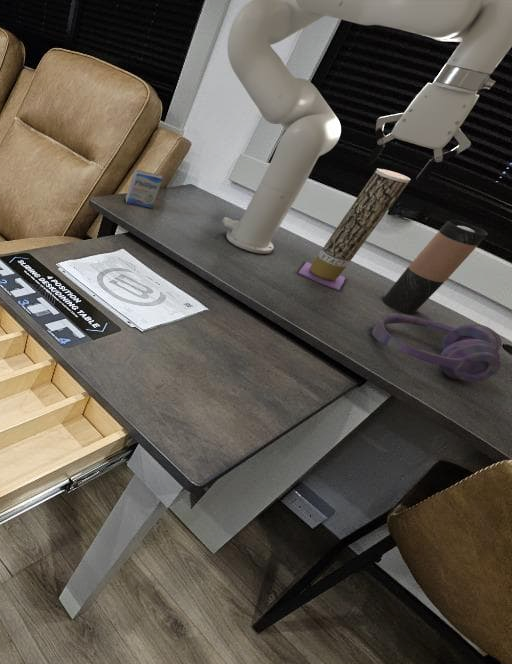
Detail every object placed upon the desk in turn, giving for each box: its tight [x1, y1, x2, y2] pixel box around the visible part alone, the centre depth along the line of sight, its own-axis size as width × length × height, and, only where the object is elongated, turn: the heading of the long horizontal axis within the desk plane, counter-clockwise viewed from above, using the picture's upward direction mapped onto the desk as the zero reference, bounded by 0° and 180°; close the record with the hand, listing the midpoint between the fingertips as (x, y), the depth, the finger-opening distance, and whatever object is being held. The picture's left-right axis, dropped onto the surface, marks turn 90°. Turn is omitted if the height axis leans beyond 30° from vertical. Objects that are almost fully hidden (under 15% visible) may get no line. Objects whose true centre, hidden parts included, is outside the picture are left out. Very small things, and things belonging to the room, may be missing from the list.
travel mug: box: [383, 219, 488, 314], centre depth 104 cm, size 8×8×20 cm
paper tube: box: [310, 168, 411, 280], centre depth 108 cm, size 7×7×25 cm
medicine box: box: [125, 169, 163, 209], centre depth 133 cm, size 8×4×9 cm, turn 81°
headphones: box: [371, 312, 502, 383], centre depth 92 cm, size 18×8×20 cm
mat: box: [297, 261, 346, 292], centre depth 117 cm, size 10×10×1 cm
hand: (393, 171), depth 100 cm, fingers open, 9 cm apart
